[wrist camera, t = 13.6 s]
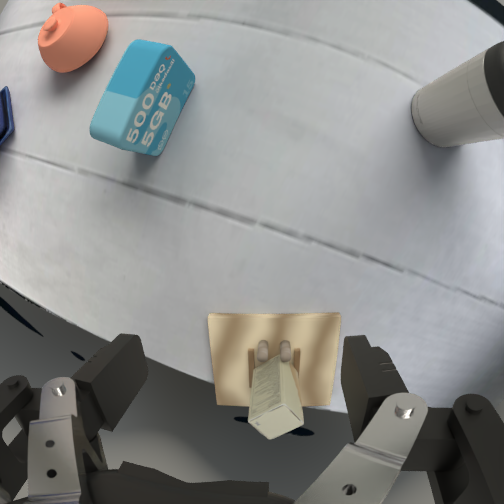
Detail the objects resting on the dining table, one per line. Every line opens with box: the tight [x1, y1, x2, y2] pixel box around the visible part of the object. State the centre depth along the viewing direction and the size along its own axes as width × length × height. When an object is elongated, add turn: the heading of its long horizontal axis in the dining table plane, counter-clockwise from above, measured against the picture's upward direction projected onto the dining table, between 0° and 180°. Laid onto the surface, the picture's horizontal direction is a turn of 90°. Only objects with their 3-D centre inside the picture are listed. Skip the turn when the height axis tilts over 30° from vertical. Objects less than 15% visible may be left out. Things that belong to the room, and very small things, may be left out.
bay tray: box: [208, 313, 341, 406], centre depth 39 cm, size 18×16×5 cm
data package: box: [90, 40, 195, 156], centre depth 29 cm, size 12×4×12 cm, turn 156°
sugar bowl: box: [38, 3, 108, 73], centre depth 28 cm, size 12×14×10 cm
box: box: [248, 354, 304, 439], centre depth 34 cm, size 5×4×11 cm
